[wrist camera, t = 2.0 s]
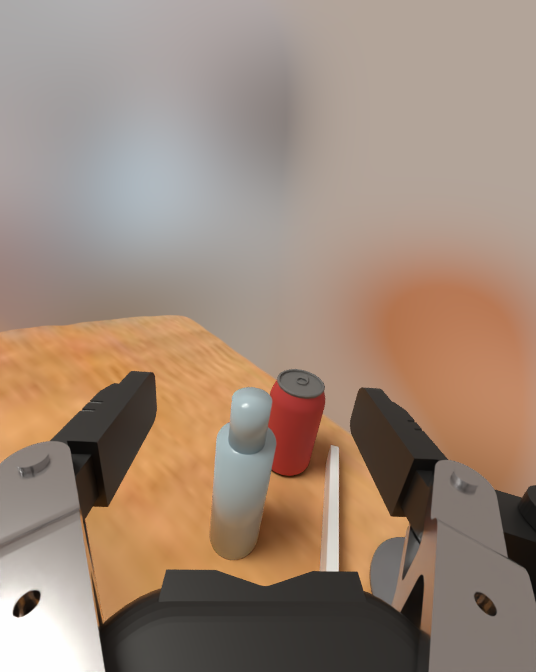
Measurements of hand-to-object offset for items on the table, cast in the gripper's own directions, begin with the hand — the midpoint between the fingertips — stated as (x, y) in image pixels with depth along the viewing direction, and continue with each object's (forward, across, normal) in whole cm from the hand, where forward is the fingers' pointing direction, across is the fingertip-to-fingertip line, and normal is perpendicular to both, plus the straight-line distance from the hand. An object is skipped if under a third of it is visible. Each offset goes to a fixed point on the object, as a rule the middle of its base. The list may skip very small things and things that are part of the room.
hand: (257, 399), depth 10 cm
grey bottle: (+8, 0, +21) cm, 23 cm away
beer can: (+18, -6, +21) cm, 28 cm away
